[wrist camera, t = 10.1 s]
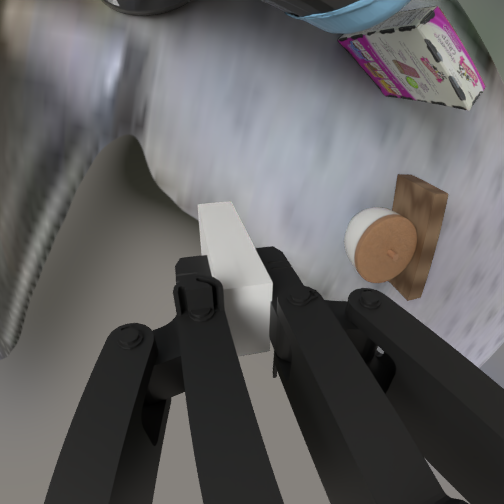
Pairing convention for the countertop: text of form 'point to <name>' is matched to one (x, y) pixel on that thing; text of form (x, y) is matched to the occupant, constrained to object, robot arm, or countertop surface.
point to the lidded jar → (380, 243)
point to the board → (418, 229)
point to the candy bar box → (417, 59)
